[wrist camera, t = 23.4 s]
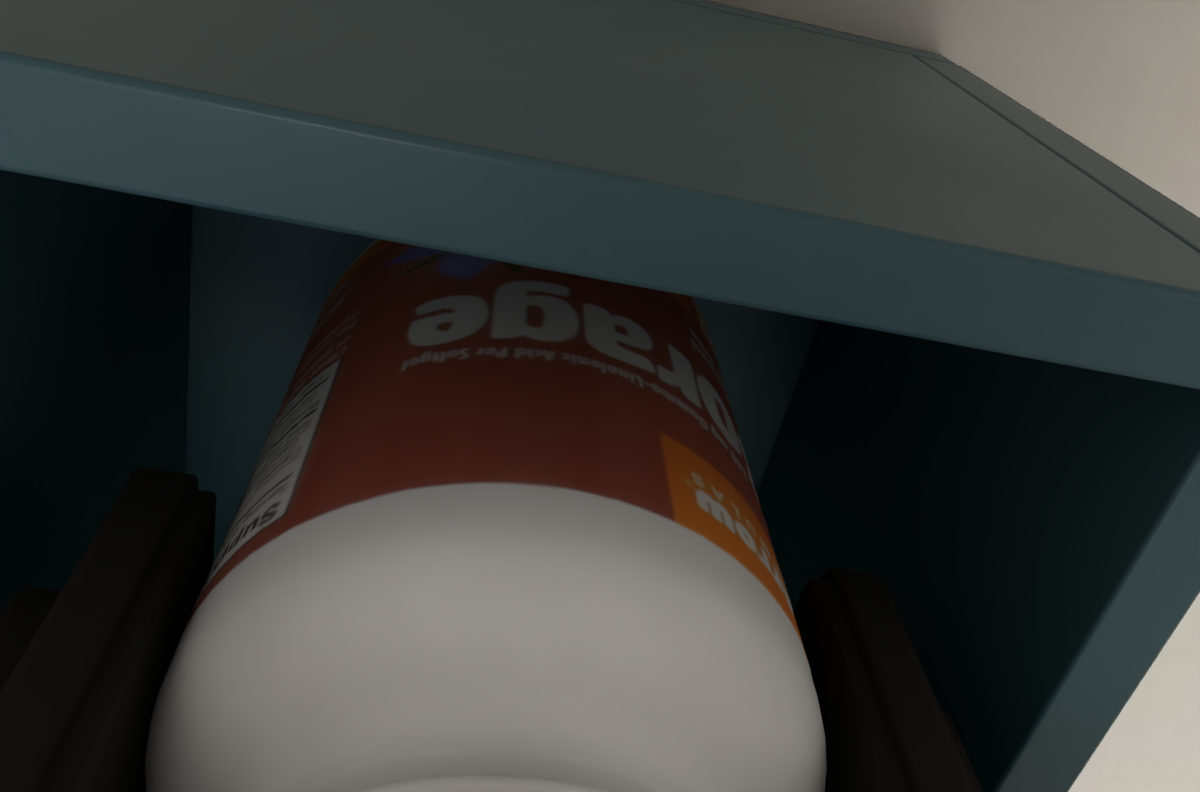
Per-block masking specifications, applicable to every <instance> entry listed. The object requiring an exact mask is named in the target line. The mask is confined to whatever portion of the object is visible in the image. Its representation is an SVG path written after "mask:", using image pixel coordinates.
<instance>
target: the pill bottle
mask: <svg viewBox="0 0 1200 792" xmlns="http://www.w3.org/2000/svg"><path fill="white" fill-rule="evenodd" d="M752 474H753V472H752V471H751V469H750V467H749V466H748V463H747V459H746V455H745V451H744V448H743V445H742V442H741V439H740V435H739V432H738V429H737V425H736V422H735V419H734V415H733V412H732V409H731V406H730V402H729V398H728V395H727V392H726V389H725V385H724V382H723V378H722V375H721V372H720V368H719V364H718V361H717V358H716V355H715V351H714V348H713V344H712V341H711V338H710V334H709V331H708V329H707V326H706V323H705V320H704V318H703V316H702V314H701V312H700V309H699V307H698V305H697V303H696V301H695V299H694V297H692V296H687V295H681V294H676V293H670V292H665V291H660V290H654V289H649V288H643V287H638V286H632V285H627V284H621V283H616V282H610V281H605V280H600V279H594V278H589V277H583V276H578V275H572V274H567V273H561V272H556V271H550V270H545V269H540V268H534V267H529V266H523V265H518V264H512V263H507V262H501V261H496V260H490V259H485V258H480V257H474V256H469V255H463V254H458V253H452V252H447V251H441V250H436V249H430V248H425V247H420V246H414V245H409V244H403V243H398V242H392V241H387V240H381V239H376V240H375V241H373V242H372V243H371V244H370V245H368V246H367V247H366V248H365V249H364V250H363V251H362V252H361V253H360V254H359V256H358V257H357V258H356V259H355V260H354V261H353V262H352V263H351V265H350V266H349V267H348V268H347V270H346V271H345V272H344V273H343V275H342V276H341V278H340V279H339V281H338V282H337V284H336V285H335V287H334V289H333V290H332V292H331V294H330V296H329V298H328V300H327V302H326V303H325V305H324V307H323V309H322V311H321V313H320V315H319V318H318V320H317V322H316V324H315V327H314V329H313V331H312V334H311V336H310V338H309V341H308V343H307V346H306V348H305V350H304V353H303V355H302V358H301V360H300V362H299V365H298V367H297V369H296V371H295V374H294V376H293V378H292V381H291V383H290V385H289V388H288V390H287V393H286V395H285V397H284V400H283V402H282V404H281V407H280V409H279V411H278V413H277V416H276V418H275V420H274V422H273V424H272V426H271V429H270V431H269V434H268V436H267V439H266V441H265V444H264V446H263V449H262V451H261V453H260V456H259V458H258V461H257V463H256V465H255V467H254V470H253V472H252V474H251V477H250V479H249V482H248V484H247V486H246V489H245V491H244V494H243V496H242V498H241V501H240V503H239V505H238V507H237V510H236V512H235V515H234V517H233V519H232V522H231V524H230V526H229V528H228V531H227V533H226V535H225V537H224V540H223V542H222V544H221V546H220V549H219V551H218V553H217V555H216V558H215V560H214V563H213V565H212V568H211V571H210V573H209V575H208V577H207V579H206V581H205V583H204V586H203V588H202V590H201V593H200V595H199V597H198V599H197V601H196V603H195V606H194V608H193V610H192V612H191V614H190V616H189V618H188V620H187V623H186V625H185V627H184V630H183V632H182V634H181V637H180V640H179V642H178V645H177V648H176V651H175V654H174V656H173V659H172V661H171V664H170V666H169V668H168V671H167V673H166V676H165V678H164V681H163V683H162V685H161V688H160V690H159V693H158V696H157V699H156V703H155V706H154V710H153V713H152V718H151V723H150V728H149V733H148V741H147V748H146V756H145V788H146V792H825V780H826V772H827V763H826V740H825V733H824V727H823V722H822V717H821V712H820V707H819V702H818V697H817V693H816V690H815V687H814V683H813V680H812V675H811V670H810V666H809V662H808V659H807V656H806V653H805V649H804V646H803V643H802V640H801V637H800V633H799V630H798V627H797V624H796V620H795V617H794V613H793V610H792V606H791V602H790V599H789V596H788V593H787V589H786V585H785V582H784V579H783V577H782V574H781V571H780V568H779V565H778V562H777V559H776V556H775V553H774V549H773V545H772V542H771V538H770V535H769V531H768V526H767V524H766V521H765V518H764V516H763V513H762V510H761V506H760V502H759V496H758V495H757V493H756V491H755V487H754V483H753V478H752Z"/></svg>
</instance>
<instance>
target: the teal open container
mask: <svg viewBox="0 0 1200 792" xmlns="http://www.w3.org/2000/svg"><path fill="white" fill-rule="evenodd" d="M376 239H381V240H387V241H392V242H398V243H403V244H409V245H414V246H420V247H425V248H430V249H436V250H441V251H447V252H452V253H458V254H463V255H469V256H474V257H480V258H485V259H490V260H496V261H501V262H507V263H512V264H518V265H523V266H529V267H534V268H540V269H545V270H550V271H556V272H561V273H567V274H572V275H578V276H583V277H589V278H594V279H600V280H605V281H610V282H616V283H621V284H627V285H632V286H638V287H643V288H649V289H654V290H660V291H665V292H670V293H676V294H681V295H687V296H692V297H694V299H695V301H696V303H697V305H698V307H699V309H700V312H701V314H702V316H703V318H704V320H705V323H706V326H707V329H708V331H709V334H710V338H711V341H712V344H713V348H714V351H715V355H716V358H717V361H718V364H719V368H720V372H721V375H722V378H723V382H724V385H725V389H726V392H727V395H728V398H729V402H730V406H731V409H732V412H733V415H734V419H735V422H736V425H737V429H738V432H739V435H740V439H741V442H742V445H743V448H744V451H745V455H746V459H747V463H748V466H749V467H750V469H751V471H752V472H753V474H752V478H753V483H754V487H755V491H756V493H757V495H758V496H759V502H760V506H761V510H762V513H763V516H764V518H765V521H766V524H767V526H768V531H769V535H770V538H771V542H772V545H773V549H774V553H775V556H776V559H777V562H778V565H779V568H780V571H781V574H782V577H783V579H784V582H785V585H786V589H787V593H788V596H789V599H790V602H791V606H792V610H793V612H794V610H795V607H796V605H797V602H798V600H799V597H800V595H801V593H802V590H803V588H804V586H805V584H806V582H807V581H808V580H809V579H812V578H815V579H821V577H822V575H823V573H824V572H825V571H826V570H827V569H830V568H837V569H844V570H851V571H857V572H864V573H871V574H877V575H879V576H881V577H882V578H883V579H884V581H885V583H886V584H887V587H888V589H889V591H890V594H891V596H892V598H893V601H894V603H895V605H896V608H897V610H898V612H899V614H900V617H901V619H902V621H903V624H904V626H905V628H906V631H907V633H908V635H909V638H910V640H911V642H912V645H913V647H914V649H915V652H916V654H917V656H918V658H919V661H920V663H921V665H922V668H923V670H924V672H925V675H926V677H927V679H928V682H929V684H930V686H931V689H932V691H933V693H934V696H935V698H936V700H937V702H938V703H939V704H940V705H941V706H942V707H944V708H945V710H946V711H947V713H948V715H949V716H950V718H951V719H952V721H953V724H954V726H955V728H956V730H957V733H958V735H959V737H960V740H961V742H962V744H963V746H964V749H965V751H966V753H967V756H968V758H969V760H970V762H971V765H972V767H973V769H974V771H975V774H976V776H977V778H978V781H979V783H980V785H981V787H982V790H983V792H1068V791H1069V789H1070V788H1071V786H1072V785H1073V783H1074V782H1075V780H1076V779H1077V777H1078V776H1079V774H1080V773H1081V771H1082V770H1083V768H1084V767H1085V765H1086V763H1087V762H1088V760H1089V759H1090V757H1091V756H1092V754H1093V753H1094V751H1095V750H1096V748H1097V747H1098V745H1099V744H1100V742H1101V741H1102V739H1103V738H1104V736H1105V735H1106V733H1107V732H1108V730H1109V729H1110V727H1111V726H1112V724H1113V723H1114V721H1115V720H1116V718H1117V717H1118V715H1119V714H1120V712H1121V711H1122V709H1123V707H1124V706H1125V704H1126V703H1127V701H1128V700H1129V698H1130V697H1131V695H1132V694H1133V692H1134V691H1135V689H1136V688H1137V686H1138V685H1139V683H1140V682H1141V680H1142V679H1143V677H1144V676H1145V674H1146V673H1147V671H1148V670H1149V668H1150V667H1151V665H1152V664H1153V662H1154V661H1155V659H1156V658H1157V656H1158V654H1159V653H1160V651H1161V650H1162V648H1163V647H1164V645H1165V644H1166V642H1167V641H1168V639H1169V638H1170V636H1171V635H1172V633H1173V632H1174V630H1175V629H1176V627H1177V626H1178V624H1179V623H1180V621H1181V620H1182V618H1183V617H1184V615H1185V614H1186V612H1187V611H1188V609H1189V608H1190V606H1191V605H1192V603H1193V601H1194V600H1195V598H1196V597H1197V595H1198V594H1199V592H1200V218H1199V217H1197V216H1196V215H1194V214H1193V213H1191V212H1189V211H1188V210H1186V209H1185V208H1183V207H1182V206H1180V205H1178V204H1177V203H1175V202H1174V201H1172V200H1171V199H1169V198H1167V197H1166V196H1164V195H1163V194H1161V193H1159V192H1158V191H1156V190H1155V189H1153V188H1152V187H1150V186H1148V185H1147V184H1145V183H1144V182H1142V181H1141V180H1139V179H1137V178H1136V177H1134V176H1133V175H1131V174H1130V173H1128V172H1126V171H1125V170H1123V169H1122V168H1120V167H1119V166H1117V165H1115V164H1114V163H1112V162H1111V161H1109V160H1108V159H1106V158H1104V157H1103V156H1101V155H1100V154H1098V153H1097V152H1095V151H1093V150H1092V149H1090V148H1089V147H1087V146H1086V145H1084V144H1082V143H1081V142H1079V141H1078V140H1076V139H1075V138H1073V137H1071V136H1070V135H1068V134H1067V133H1065V132H1064V131H1062V130H1060V129H1059V128H1057V127H1056V126H1054V125H1053V124H1051V123H1049V122H1048V121H1046V120H1045V119H1043V118H1042V117H1040V116H1038V115H1037V114H1035V113H1034V112H1032V111H1031V110H1029V109H1027V108H1026V107H1024V106H1023V105H1021V104H1019V103H1018V102H1016V101H1015V100H1013V99H1012V98H1010V97H1008V96H1007V95H1005V94H1004V93H1002V92H1001V91H999V90H997V89H996V88H994V87H993V86H991V85H990V84H988V83H986V82H985V81H983V80H982V79H980V78H979V77H977V76H975V75H974V74H972V73H971V72H969V71H968V70H966V69H964V68H963V67H961V66H958V65H956V64H955V63H954V62H952V61H950V60H949V59H947V58H946V57H944V56H943V55H940V54H935V53H931V52H927V51H922V50H918V49H914V48H909V47H905V46H901V45H896V44H892V43H888V42H883V41H879V40H875V39H870V38H866V37H861V36H857V35H853V34H848V33H844V32H840V31H835V30H831V29H827V28H822V27H818V26H814V25H809V24H805V23H801V22H796V21H792V20H788V19H783V18H779V17H775V16H770V15H766V14H762V13H757V12H753V11H748V10H744V9H740V8H735V7H731V6H727V5H722V4H718V3H714V2H709V1H705V0H0V614H1V613H2V611H3V609H4V608H5V606H6V605H7V603H8V602H9V601H10V600H11V598H12V597H13V596H14V595H15V593H16V592H17V591H19V590H20V589H22V588H23V587H25V586H30V587H38V588H46V589H54V590H62V589H63V587H64V586H65V584H66V582H67V581H68V579H69V577H70V576H71V574H72V572H73V571H74V569H75V567H76V566H77V564H78V562H79V561H80V559H81V557H82V556H83V554H84V552H85V551H86V549H87V547H88V546H89V544H90V542H91V541H92V539H93V537H94V536H95V534H96V532H97V531H98V529H99V527H100V526H101V524H102V522H103V521H104V519H105V517H106V516H107V514H108V512H109V511H110V509H111V507H112V506H113V504H114V502H115V501H116V499H117V497H118V496H119V494H120V492H121V491H122V489H123V487H124V486H125V484H126V482H127V481H128V479H129V477H130V476H131V474H132V473H133V471H134V470H135V469H136V468H138V467H145V468H152V469H159V470H166V471H173V472H179V473H186V474H193V475H195V476H196V477H197V480H198V490H204V491H211V492H214V493H215V496H216V515H215V538H214V560H215V558H216V555H217V553H218V551H219V549H220V546H221V544H222V542H223V540H224V537H225V535H226V533H227V531H228V528H229V526H230V524H231V522H232V519H233V517H234V515H235V512H236V510H237V507H238V505H239V503H240V501H241V498H242V496H243V494H244V491H245V489H246V486H247V484H248V482H249V479H250V477H251V474H252V472H253V470H254V467H255V465H256V463H257V461H258V458H259V456H260V453H261V451H262V449H263V446H264V444H265V441H266V439H267V436H268V434H269V431H270V429H271V426H272V424H273V422H274V420H275V418H276V416H277V413H278V411H279V409H280V407H281V404H282V402H283V400H284V397H285V395H286V393H287V390H288V388H289V385H290V383H291V381H292V378H293V376H294V374H295V371H296V369H297V367H298V365H299V362H300V360H301V358H302V355H303V353H304V350H305V348H306V346H307V343H308V341H309V338H310V336H311V334H312V331H313V329H314V327H315V324H316V322H317V320H318V318H319V315H320V313H321V311H322V309H323V307H324V305H325V303H326V302H327V300H328V298H329V296H330V294H331V292H332V290H333V289H334V287H335V285H336V284H337V282H338V281H339V279H340V278H341V276H342V275H343V273H344V272H345V271H346V270H347V268H348V267H349V266H350V265H351V263H352V262H353V261H354V260H355V259H356V258H357V257H358V256H359V254H360V253H361V252H362V251H363V250H364V249H365V248H366V247H367V246H368V245H370V244H371V243H372V242H373V241H375V240H376ZM213 563H214V561H213Z"/></svg>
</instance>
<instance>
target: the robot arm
mask: <svg viewBox="0 0 1200 792" xmlns="http://www.w3.org/2000/svg"><path fill="white" fill-rule="evenodd" d="M215 515H216V496H215V493H214V492H211V491H204V490H198V480H197V477H196V476H195V475H193V474H186V473H179V472H173V471H166V470H159V469H152V468H145V467H138V468H136V469H135V470H134V471H133V473H132V474H131V476H130V477H129V479H128V481H127V482H126V484H125V486H124V487H123V489H122V491H121V492H120V494H119V496H118V497H117V499H116V501H115V502H114V504H113V506H112V507H111V509H110V511H109V512H108V514H107V516H106V517H105V519H104V521H103V522H102V524H101V526H100V527H99V529H98V531H97V532H96V534H95V536H94V537H93V539H92V541H91V542H90V544H89V546H88V547H87V549H86V551H85V552H84V554H83V556H82V557H81V559H80V561H79V562H78V564H77V566H76V567H75V569H74V571H73V572H72V574H71V576H70V577H69V579H68V581H67V582H66V584H65V586H64V587H63V589H62V590H54V589H46V588H38V587H30V586H25V587H23V588H22V589H20V590H19V591H17V592H16V593H15V595H14V596H13V597H12V598H11V600H10V601H9V602H8V603H7V605H6V606H5V608H4V609H3V611H2V613H1V614H0V792H146V788H145V756H146V748H147V741H148V733H149V728H150V723H151V718H152V713H153V710H154V706H155V703H156V699H157V696H158V693H159V690H160V688H161V685H162V683H163V681H164V678H165V676H166V673H167V671H168V668H169V666H170V664H171V661H172V659H173V656H174V654H175V651H176V648H177V645H178V642H179V640H180V637H181V634H182V632H183V630H184V627H185V625H186V623H187V620H188V618H189V616H190V614H191V612H192V610H193V608H194V606H195V603H196V601H197V599H198V597H199V595H200V593H201V590H202V588H203V586H204V583H205V581H206V579H207V577H208V575H209V573H210V571H211V568H212V565H213V561H214V538H215ZM793 613H794V617H795V620H796V624H797V627H798V630H799V633H800V637H801V640H802V643H803V646H804V649H805V653H806V656H807V659H808V662H809V666H810V670H811V675H812V680H813V683H814V687H815V690H816V693H817V697H818V702H819V707H820V712H821V717H822V722H823V727H824V733H825V740H826V763H827V772H826V780H825V792H983V790H982V787H981V785H980V783H979V781H978V778H977V776H976V774H975V771H974V769H973V767H972V765H971V762H970V760H969V758H968V756H967V753H966V751H965V749H964V746H963V744H962V742H961V740H960V737H959V735H958V733H957V730H956V728H955V726H954V724H953V721H952V719H951V718H950V716H949V715H948V713H947V711H946V710H945V708H944V707H942V706H941V705H940V704H939V703H938V702H937V700H936V698H935V696H934V693H933V691H932V689H931V686H930V684H929V682H928V679H927V677H926V675H925V672H924V670H923V668H922V665H921V663H920V661H919V658H918V656H917V654H916V652H915V649H914V647H913V645H912V642H911V640H910V638H909V635H908V633H907V631H906V628H905V626H904V624H903V621H902V619H901V617H900V614H899V612H898V610H897V608H896V605H895V603H894V601H893V598H892V596H891V594H890V591H889V589H888V587H887V584H886V583H885V581H884V579H883V578H882V577H881V576H879V575H877V574H871V573H864V572H857V571H851V570H844V569H837V568H830V569H827V570H826V571H825V572H824V573H823V575H822V577H821V579H815V578H812V579H809V580H808V581H807V582H806V584H805V586H804V588H803V590H802V593H801V595H800V597H799V600H798V602H797V605H796V607H795V610H794V612H793Z"/></svg>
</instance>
